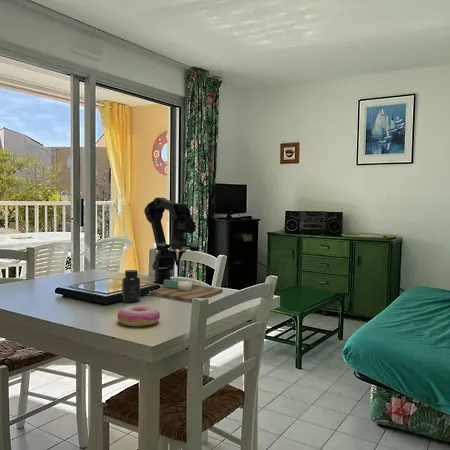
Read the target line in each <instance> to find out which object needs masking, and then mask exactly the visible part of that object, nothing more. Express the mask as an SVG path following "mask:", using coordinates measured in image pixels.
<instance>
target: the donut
mask: <svg viewBox="0 0 450 450" xmlns="http://www.w3.org/2000/svg"><path fill="white" fill-rule="evenodd" d="M160 316H161V314H160V311H159V310H158V309H157V308H156V307H154V306H151V305H147V304H145V305H144V304H135V305H129V306H125V307H122V308H121V309H119V311H118V312H117V320H118V321H119V323H121V324H122V325H124V326H127V327H128V326H129V327H147V326H153V325H155V324H156V323H157V322H159V320H160V318H161V317H160Z"/></svg>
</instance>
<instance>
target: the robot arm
mask: <svg viewBox="0 0 450 450" xmlns="http://www.w3.org/2000/svg"><path fill="white" fill-rule="evenodd" d="M165 211H169V212H168V213H169V214H170V215H171V216H172V217H170V221H172V222H171V223H172V224H171V239H170V243H168V244H167V240H166V237H165V232H164V228H163V223H162V219H163V217H164V212H165ZM143 213H144V215H145V218H146V220H147V221H148V222H149V224H150V225H151V229H152V233H153V236H154V237H153V238H154V242H155V246H156V250H157V251H156V253H155V257H154V259H155V260H154V262H153V263H152V266H151V267H152V270H153V271H155V279H154V280H153V282H152V283H153V284H160V285H164V280H171V271H173V270H174V267H175V266H176V267H179V265H180V262H181V258H182V256H183V255H184V253H186V252H187V250H189V251H190V252H199V249H200V244H199V243H190V244H188V238H186V237H185V235H186V234H193V233H194V232H196V229H197V224H196V222H195V221H193V217H192V214H191V212H190V209H189V207H188V204H187V203H184V202H183V203H181V202H175V201H172V200H169V199H167V198H166V197H155V198H154V199H153V200H152V201H151V202H148V203H147V205H146V206H145V208H144V212H143ZM178 250H179V251H178ZM177 251H178V252H177Z"/></svg>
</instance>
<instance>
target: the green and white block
mask: <svg viewBox="0 0 450 450" xmlns="http://www.w3.org/2000/svg"><path fill="white" fill-rule="evenodd" d="M192 284H193V281H191V280H172V279H170V280H164V284H163V286H164V287H172V288H178V290H181V291H189V290H192Z"/></svg>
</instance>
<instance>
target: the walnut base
mask: <svg viewBox="0 0 450 450" xmlns="http://www.w3.org/2000/svg"><path fill="white" fill-rule="evenodd" d="M159 287H160V288H159V289H157V290H153V291H149V293H148V294H147V295H148V296H151V297H152V296H153V297H157V298H163V299H168V300H174V301H179V302H183V303H184V302H185V303H189V304H192V303H191V302H192V299H193V298H205V299H207V298H206V297H208V298H211V297H214V296H217V295H219V294H223V293H222V292H224V291H223V290H224V289H223V288H218V287H214V286H213V287H211V286H206V285H201V284H194V283H192V290H189V291H181V290H178V288H172V287H164V285H161V286H159Z"/></svg>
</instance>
